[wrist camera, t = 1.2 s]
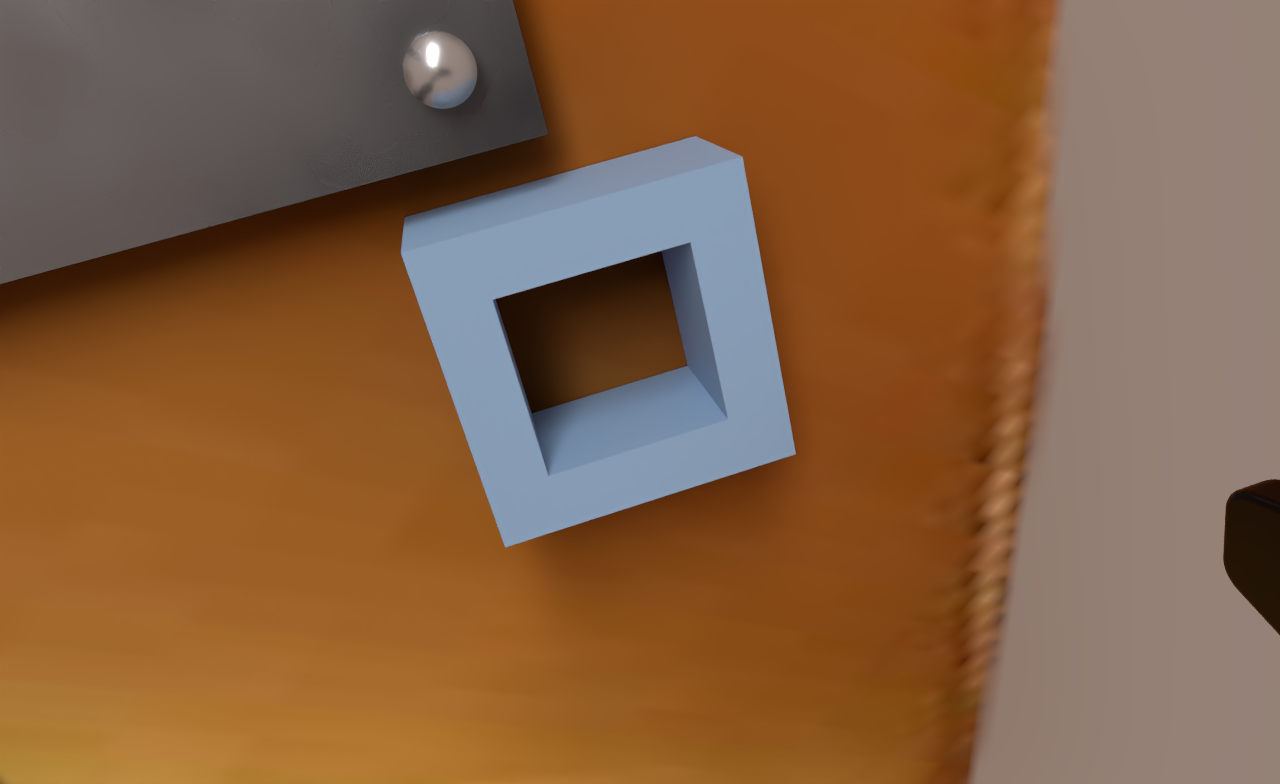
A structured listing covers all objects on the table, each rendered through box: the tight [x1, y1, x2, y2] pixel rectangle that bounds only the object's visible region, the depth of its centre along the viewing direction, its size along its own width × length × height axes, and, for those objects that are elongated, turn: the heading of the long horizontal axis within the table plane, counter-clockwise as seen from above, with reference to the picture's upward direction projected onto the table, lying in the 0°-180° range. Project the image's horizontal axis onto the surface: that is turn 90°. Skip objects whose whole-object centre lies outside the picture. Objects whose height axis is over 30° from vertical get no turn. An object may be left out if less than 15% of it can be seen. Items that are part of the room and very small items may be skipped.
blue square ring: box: [401, 136, 796, 547], centre depth 18 cm, size 6×6×3 cm
